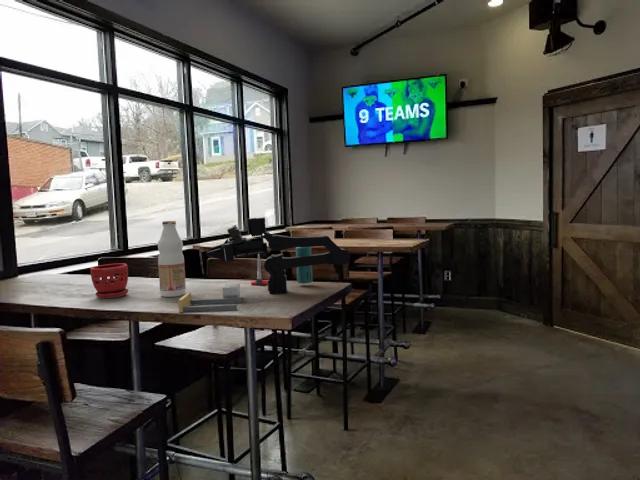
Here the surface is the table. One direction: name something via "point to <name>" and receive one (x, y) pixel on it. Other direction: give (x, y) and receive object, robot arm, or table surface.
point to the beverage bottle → (304, 271)
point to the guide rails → (186, 302)
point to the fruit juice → (171, 262)
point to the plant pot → (110, 280)
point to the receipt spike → (259, 275)
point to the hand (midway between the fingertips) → (208, 251)
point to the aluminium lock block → (231, 291)
